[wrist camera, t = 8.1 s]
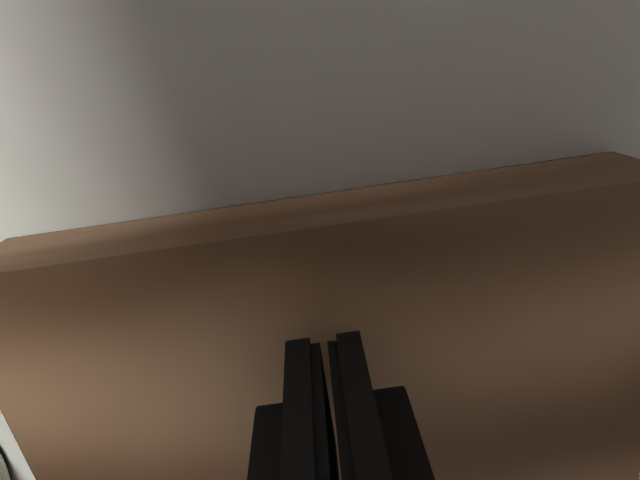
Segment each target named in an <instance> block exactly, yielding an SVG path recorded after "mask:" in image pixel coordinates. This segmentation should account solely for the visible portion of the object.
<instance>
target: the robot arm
mask: <svg viewBox="0 0 640 480" xmlns="http://www.w3.org/2000/svg"><path fill="white" fill-rule="evenodd" d="M336 339H337V340H335V341H327V345H328V355H329V364H330V374H331V383H332V393H333V403H334V412H335V422H336V431H337V441H338V451H339V460H340V470H341V479H342V480H435V477H434V474H433V471H432V468H431V465H430V462H429V459H428V456H427V453H426V450H425V447H424V443H423V440H422V437H421V434H420V431H419V428H418V425H417V422H416V419H415V416H414V413H413V410H412V406H411V403H410V400H409V397H408V394H407V391H406V389H405V387H404V386H396V387H389V388H382V389H375V390H373V388H372V384H371V379H370V375H369V370H368V366H367V361H366V357H365V353H364V348H363V344H362V339H361V335H360V331H352V332H345V333H337V334H336ZM247 480H339V470H338V460H337V450H336V441H335V434H334V427H333V421H332V415H331V409H330V403H329V396H328V390H327V384H326V378H325V372H324V365H323V359H322V353H321V347H320V343H313V344H311V341H310V338H302V339H295V340H288V341H285V358H284V382H283V402H282V403H275V404H268V405H260V406H257V407H256V410H255V415H254V424H253V432H252V440H251V449H250V457H249V466H248V474H247Z"/></svg>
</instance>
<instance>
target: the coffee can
mask: <svg viewBox="0 0 640 480" xmlns="http://www.w3.org/2000/svg"><path fill="white" fill-rule="evenodd" d="M0 480H10V475H9V473H8V469H7V466H6V463H5V461H4V458H3V457H2V455H1V453H0Z"/></svg>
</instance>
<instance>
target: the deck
mask: <svg viewBox="0 0 640 480" xmlns="http://www.w3.org/2000/svg"><path fill="white" fill-rule="evenodd" d="M352 331H360V335H361V339H362V344H363V348H364V353H365V357H366V361H367V366H368V370H369V375H370V379H371V384H372V388H373V390H375V389H382V388H389V387H396V386H404V387H405V389H406V391H407V394H408V397H409V400H410V403H411V406H412V410H413V413H414V416H415V419H416V422H417V425H418V428H419V431H420V434H421V437H422V440H423V443H424V447H425V450H426V453H427V456H428V459H429V462H430V465H431V468H432V471H433V474H434V477H435V480H638V478H639V472H640V159H636V158H633V157H629V156H626V155H622V154H619V153H615V152H608V153H601V154H594V155H587V156H580V157H573V158H566V159H559V160H552V161H545V162H538V163H531V164H524V165H517V166H510V167H503V168H496V169H489V170H482V171H475V172H468V173H461V174H455V175H448V176H441V177H434V178H427V179H420V180H413V181H406V182H399V183H392V184H385V185H378V186H371V187H364V188H357V189H350V190H343V191H336V192H329V193H322V194H315V195H308V196H301V197H294V198H287V199H280V200H273V201H266V202H259V203H252V204H245V205H238V206H231V207H224V208H217V209H210V210H203V211H196V212H189V213H182V214H175V215H168V216H161V217H154V218H148V219H141V220H134V221H127V222H120V223H113V224H106V225H99V226H92V227H85V228H78V229H71V230H64V231H57V232H50V233H43V234H36V235H29V236H22V237H15V238H8V239H5V240H4V241H2V242H0V410H1V412H2V414H3V416H4V418H5V420H6V422H7V424H8V425H9V427H10V429H11V431H12V433H13V435H14V437H15V439H16V441H17V443H18V445H19V447H20V449H21V451H22V453H23V455H24V457H25V459H26V461H27V463H28V465H29V467H30V469H31V471H32V473H33V475H34V477H35V479H36V480H247V474H248V466H249V457H250V449H251V440H252V432H253V424H254V415H255V410H256V407H257V406H260V405H268V404H275V403H282V402H283V382H284V358H285V341H288V340H295V339H302V338H310V341H311V344H313V343H320V347H321V353H322V359H323V365H324V372H325V378H326V384H327V390H328V396H329V403H330V409H331V415H332V421H333V427H334V434H335V441H336V450H337V460H338V470H339V480H342V479H341V470H340V460H339V451H338V441H337V431H336V422H335V412H334V403H333V393H332V383H331V374H330V364H329V355H328V345H327V341H335V340H337V339H336V334H337V333H345V332H352Z"/></svg>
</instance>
